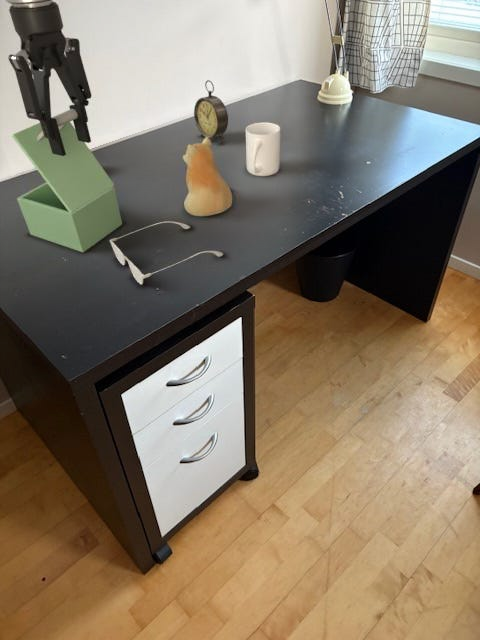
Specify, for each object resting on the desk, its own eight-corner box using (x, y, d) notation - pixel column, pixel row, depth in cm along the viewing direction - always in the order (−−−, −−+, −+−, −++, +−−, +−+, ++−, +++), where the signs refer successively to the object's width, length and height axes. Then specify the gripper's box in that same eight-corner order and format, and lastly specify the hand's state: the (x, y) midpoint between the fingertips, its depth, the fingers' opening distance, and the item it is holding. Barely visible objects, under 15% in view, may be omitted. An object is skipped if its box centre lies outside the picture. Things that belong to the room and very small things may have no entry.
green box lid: (11, 136, 87) (28, 115, 82) (61, 114, 95) (80, 93, 90) (70, 213, 93) (89, 198, 87) (112, 186, 101) (133, 171, 95)
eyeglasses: (111, 254, 98) (107, 238, 95) (187, 225, 105) (185, 209, 102) (145, 292, 88) (141, 274, 85) (226, 257, 95) (225, 240, 93)
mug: (237, 180, 120) (236, 138, 113) (252, 161, 129) (251, 120, 122) (270, 184, 118) (270, 142, 111) (283, 164, 126) (284, 123, 119)
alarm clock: (195, 137, 143) (189, 78, 132) (209, 132, 146) (204, 74, 135) (218, 146, 137) (214, 86, 126) (232, 141, 139) (229, 82, 129)
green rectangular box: (30, 234, 105) (16, 198, 99) (71, 209, 113) (60, 173, 107) (83, 252, 99) (71, 214, 93) (122, 224, 107) (114, 187, 101)
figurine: (178, 197, 115) (170, 135, 105) (228, 188, 117) (225, 127, 107) (190, 222, 106) (182, 157, 96) (243, 212, 109) (241, 147, 99)
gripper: (-1, 15, 67) (49, 171, 83) (92, -6, 79) (120, 133, 95) (-35, 12, 70) (19, 163, 86) (59, -8, 82) (92, 127, 98)
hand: (72, 147), depth 90 cm, fingers closed on green box lid, 6 cm apart
